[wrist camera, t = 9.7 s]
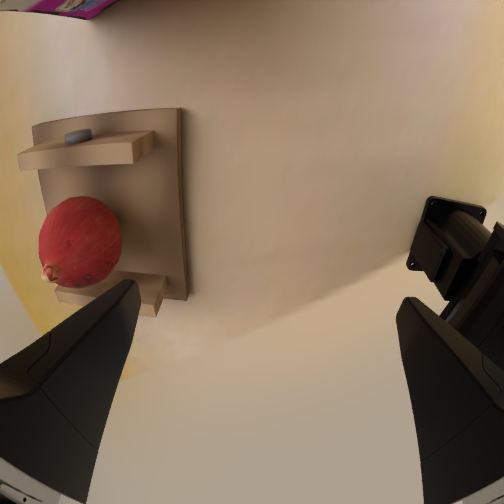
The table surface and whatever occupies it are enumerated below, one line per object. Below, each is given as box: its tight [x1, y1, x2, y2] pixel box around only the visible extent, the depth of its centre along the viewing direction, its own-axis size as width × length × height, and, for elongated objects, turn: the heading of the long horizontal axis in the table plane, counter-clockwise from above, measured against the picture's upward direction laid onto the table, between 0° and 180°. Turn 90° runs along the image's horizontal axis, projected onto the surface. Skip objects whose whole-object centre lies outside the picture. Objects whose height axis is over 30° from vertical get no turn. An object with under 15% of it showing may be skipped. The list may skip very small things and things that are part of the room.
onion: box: [39, 196, 122, 289], centre depth 17 cm, size 6×6×8 cm
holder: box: [17, 108, 189, 317], centre depth 19 cm, size 12×15×4 cm
